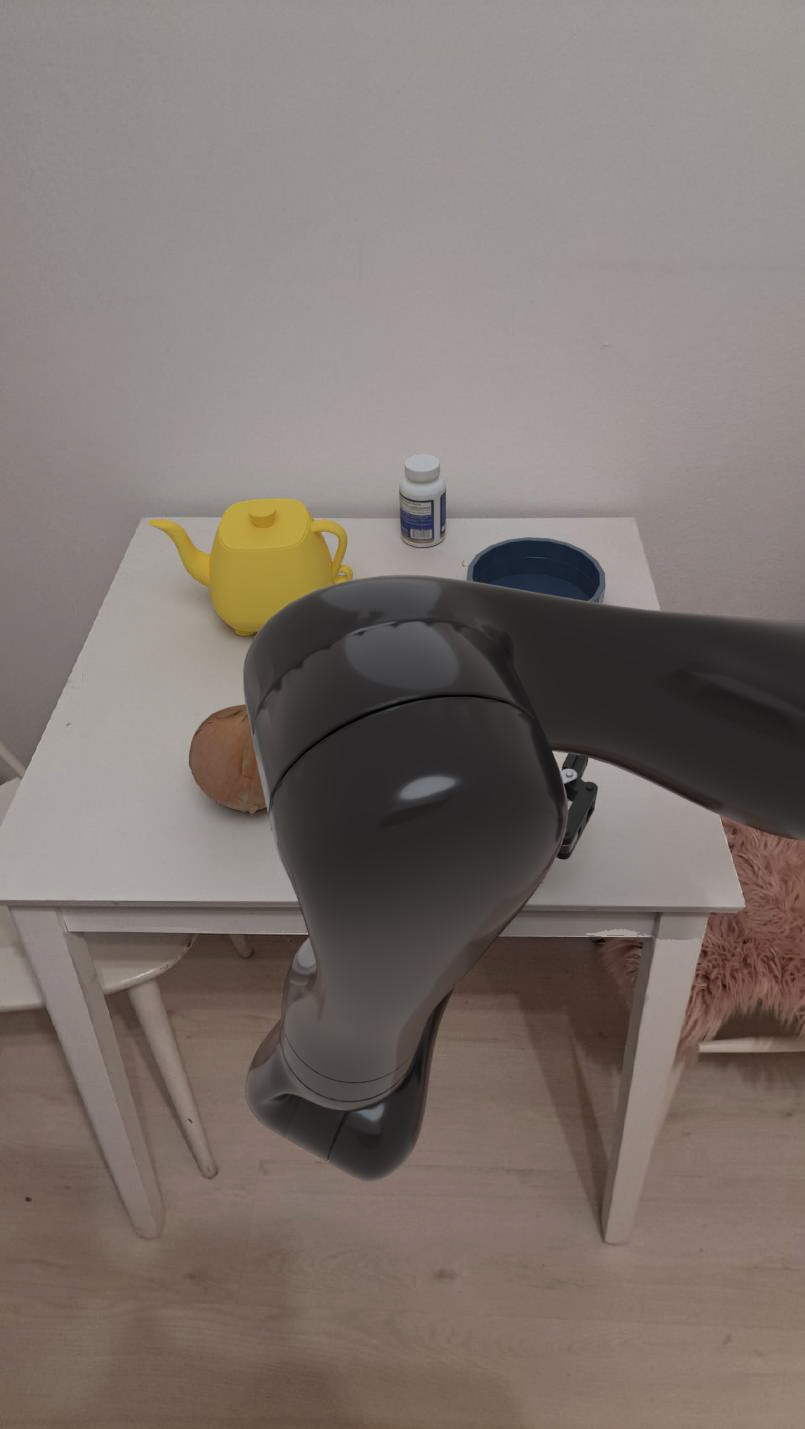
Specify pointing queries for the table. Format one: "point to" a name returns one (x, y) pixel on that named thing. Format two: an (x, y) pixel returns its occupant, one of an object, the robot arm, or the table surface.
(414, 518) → the pill bottle
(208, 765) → the onion
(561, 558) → the bowl
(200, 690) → the table surface
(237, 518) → the teapot
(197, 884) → the table surface
